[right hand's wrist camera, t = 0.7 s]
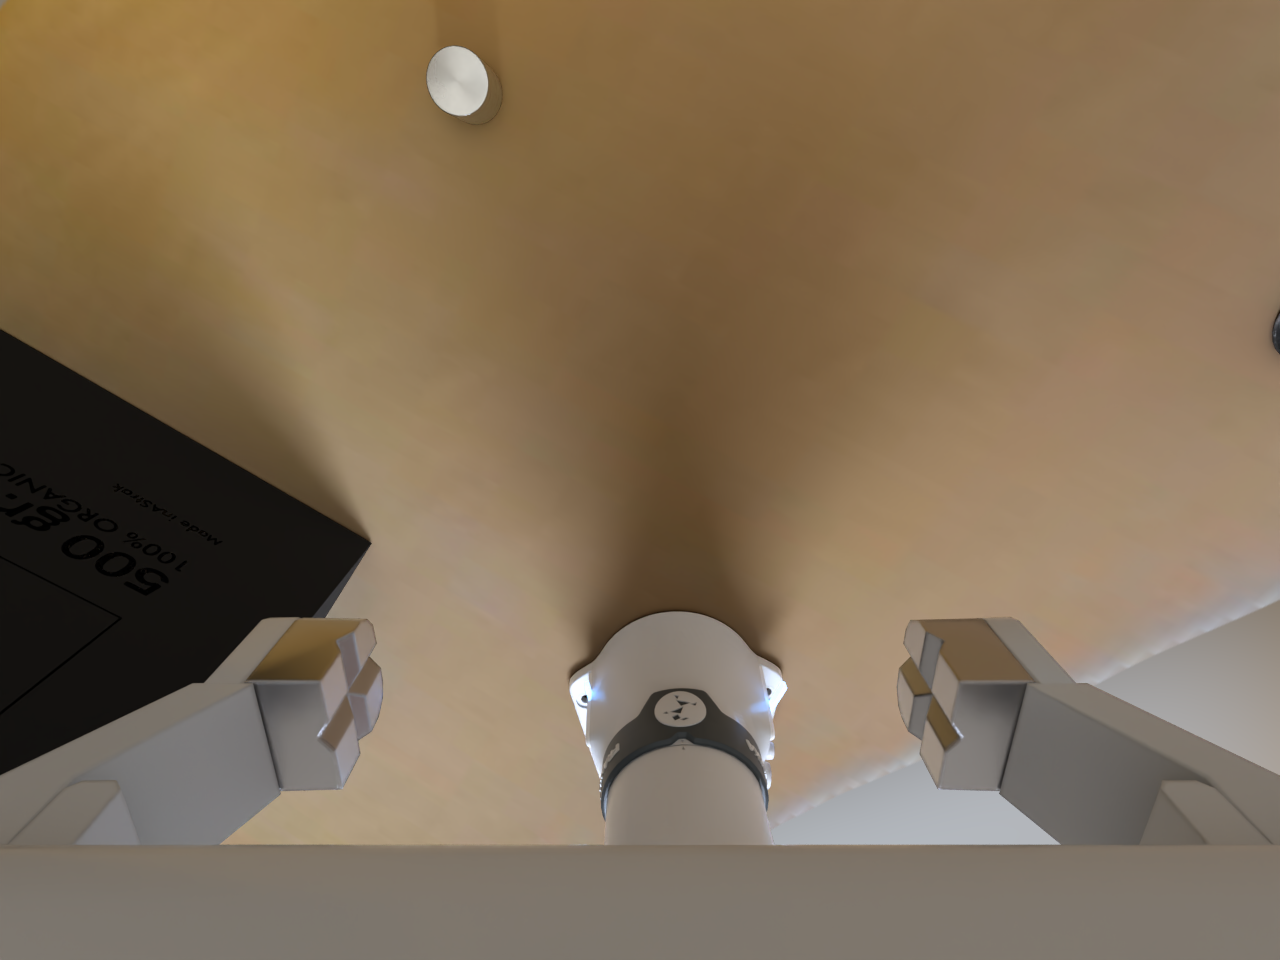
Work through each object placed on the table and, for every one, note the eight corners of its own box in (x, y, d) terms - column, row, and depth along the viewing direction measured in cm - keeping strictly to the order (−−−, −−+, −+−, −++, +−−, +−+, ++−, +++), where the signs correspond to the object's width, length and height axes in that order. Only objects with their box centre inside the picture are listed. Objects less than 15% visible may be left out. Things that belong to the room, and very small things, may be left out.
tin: (506, 122, 46) (492, 114, 42) (450, 126, 46) (431, 118, 42) (498, 58, 44) (483, 42, 40) (441, 62, 45) (420, 47, 40)
